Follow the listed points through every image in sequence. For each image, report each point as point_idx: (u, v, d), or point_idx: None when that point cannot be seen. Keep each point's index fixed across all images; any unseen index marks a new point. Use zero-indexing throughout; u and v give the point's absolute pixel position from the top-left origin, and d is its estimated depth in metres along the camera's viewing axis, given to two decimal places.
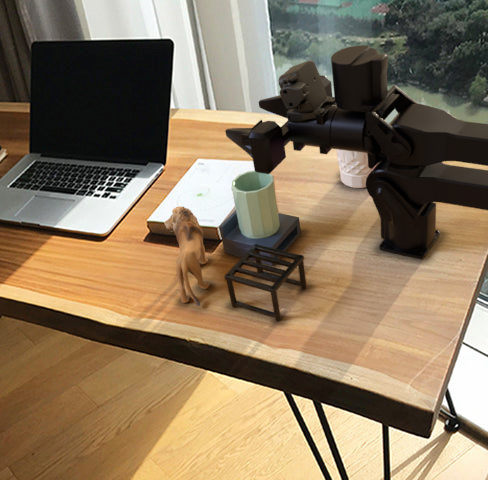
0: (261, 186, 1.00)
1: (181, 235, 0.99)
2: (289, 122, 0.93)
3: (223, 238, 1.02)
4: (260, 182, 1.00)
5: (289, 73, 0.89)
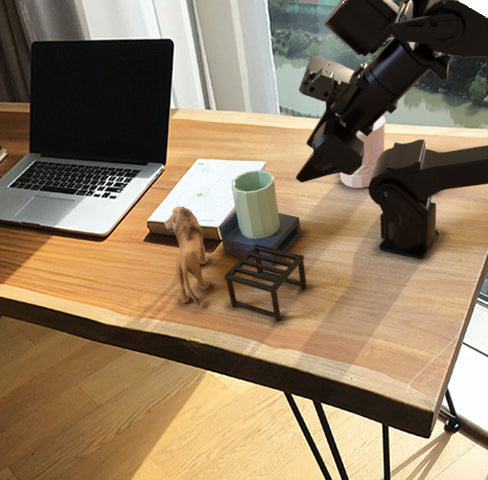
0: (261, 186, 1.00)
1: (181, 235, 0.99)
2: (340, 116, 0.84)
3: (223, 238, 1.02)
4: (260, 182, 1.00)
5: (303, 77, 0.83)
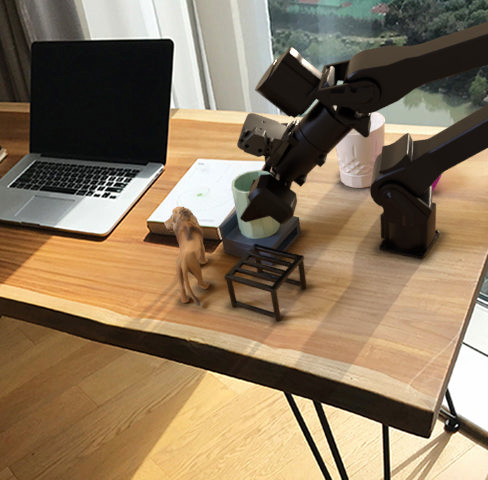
0: None
1: (181, 235, 0.99)
2: (275, 168, 0.92)
3: (223, 238, 1.02)
4: None
5: (240, 134, 0.91)
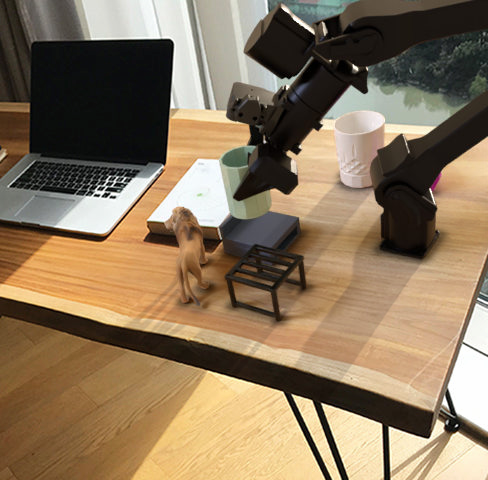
0: None
1: (181, 235, 0.99)
2: (270, 138, 0.86)
3: (223, 238, 1.02)
4: None
5: (229, 104, 0.84)
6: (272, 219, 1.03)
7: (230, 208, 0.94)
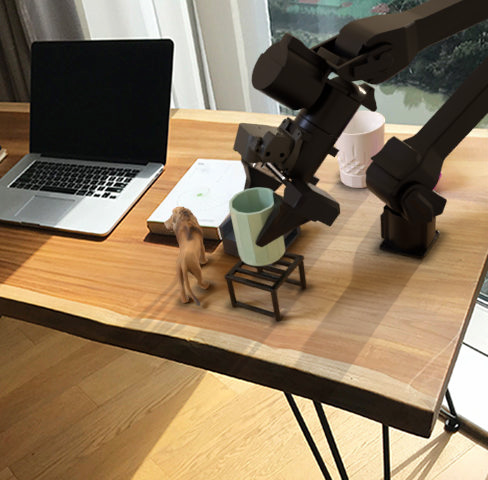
0: (251, 206, 0.88)
1: (181, 235, 0.99)
2: (289, 174, 0.81)
3: (223, 238, 1.02)
4: (250, 202, 0.87)
5: (246, 146, 0.78)
6: None
7: (247, 257, 0.87)
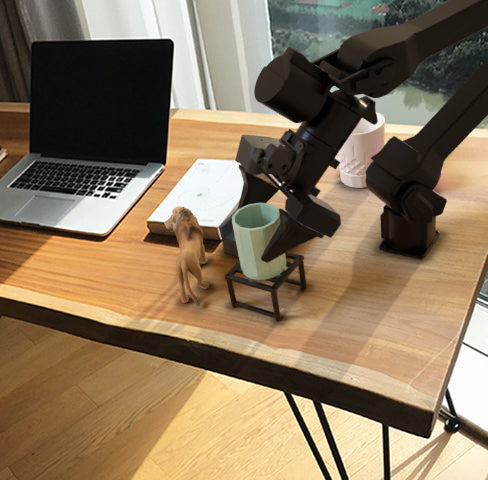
0: (253, 221, 0.89)
1: (181, 235, 0.99)
2: (291, 185, 0.82)
3: (223, 238, 1.02)
4: (252, 217, 0.89)
5: (249, 157, 0.79)
6: None
7: (249, 271, 0.88)
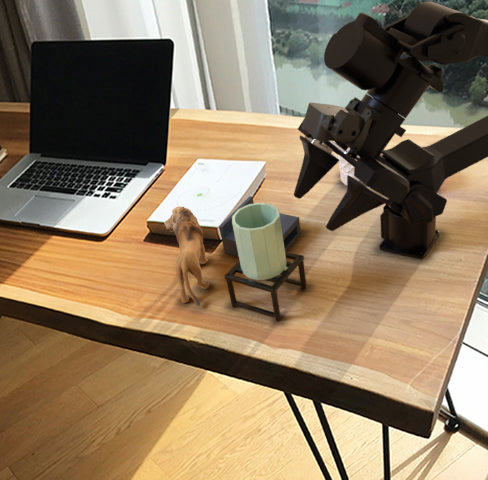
0: (253, 221, 0.89)
1: (181, 235, 0.99)
2: (357, 153, 0.82)
3: (223, 238, 1.02)
4: (252, 217, 0.89)
5: (318, 124, 0.79)
6: None
7: (249, 271, 0.88)
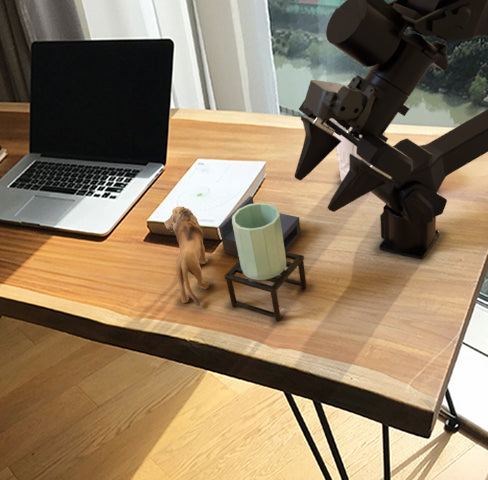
0: (253, 221, 0.89)
1: (181, 235, 0.99)
2: (360, 131, 0.81)
3: (223, 238, 1.02)
4: (252, 217, 0.89)
5: (319, 101, 0.78)
6: None
7: (249, 271, 0.88)
